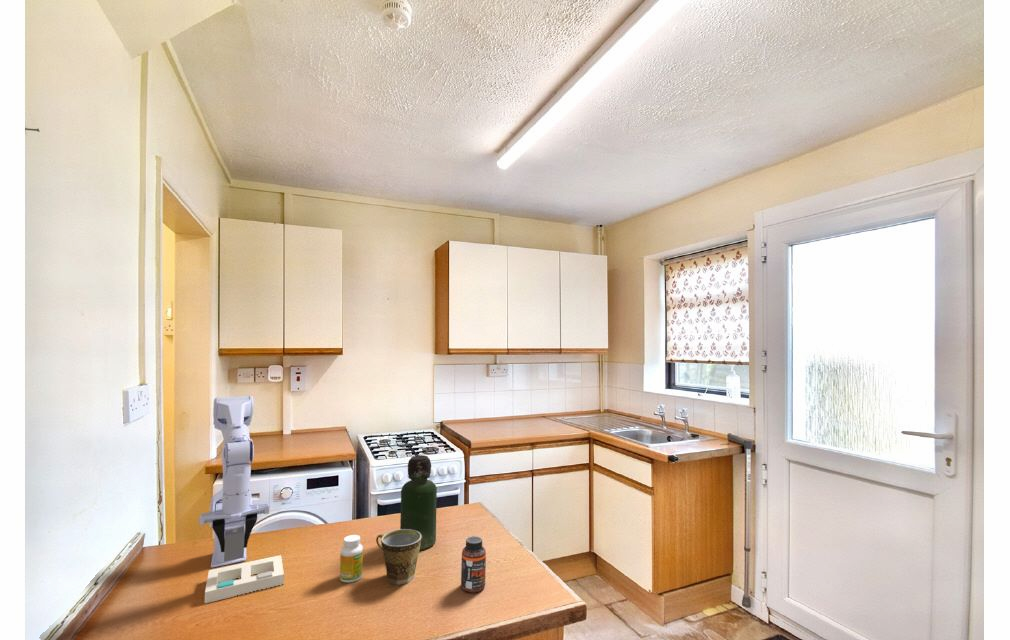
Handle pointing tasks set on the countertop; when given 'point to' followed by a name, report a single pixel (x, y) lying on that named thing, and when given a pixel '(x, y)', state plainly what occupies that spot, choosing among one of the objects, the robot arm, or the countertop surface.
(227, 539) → the plug
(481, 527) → the countertop surface
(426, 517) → the green bottle
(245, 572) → the socket board
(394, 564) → the ceramic cup
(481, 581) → the supplement bottle
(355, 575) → the supplement bottle
